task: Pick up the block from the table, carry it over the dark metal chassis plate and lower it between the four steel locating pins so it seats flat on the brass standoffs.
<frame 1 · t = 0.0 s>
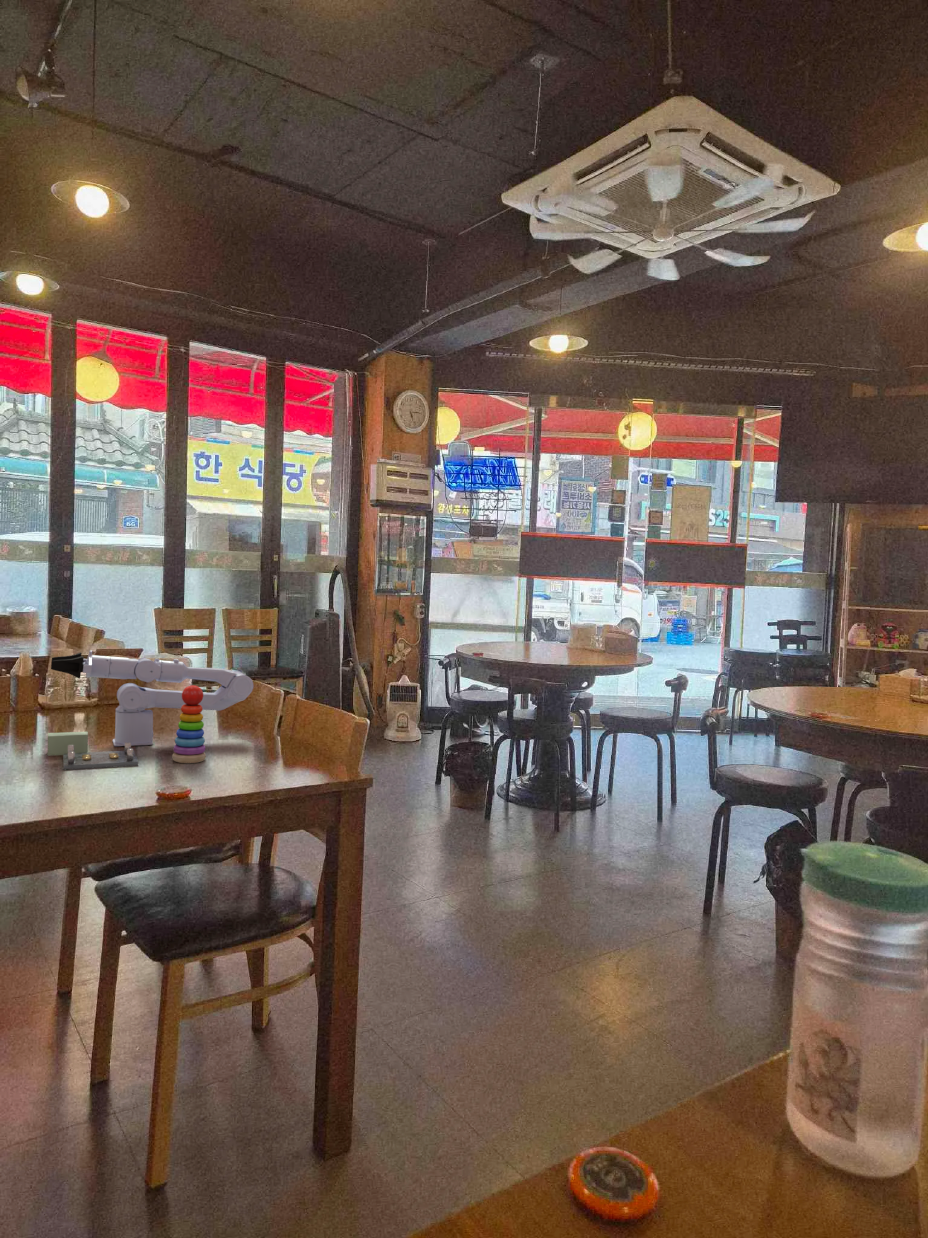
hand: (51, 663, 211), 22 cm above the table, tool horizontal, fingers open, 7 cm apart
stacking toy: (189, 761, 204), on the table
block: (67, 753, 207), on the table
chassis: (100, 761, 199), on the table
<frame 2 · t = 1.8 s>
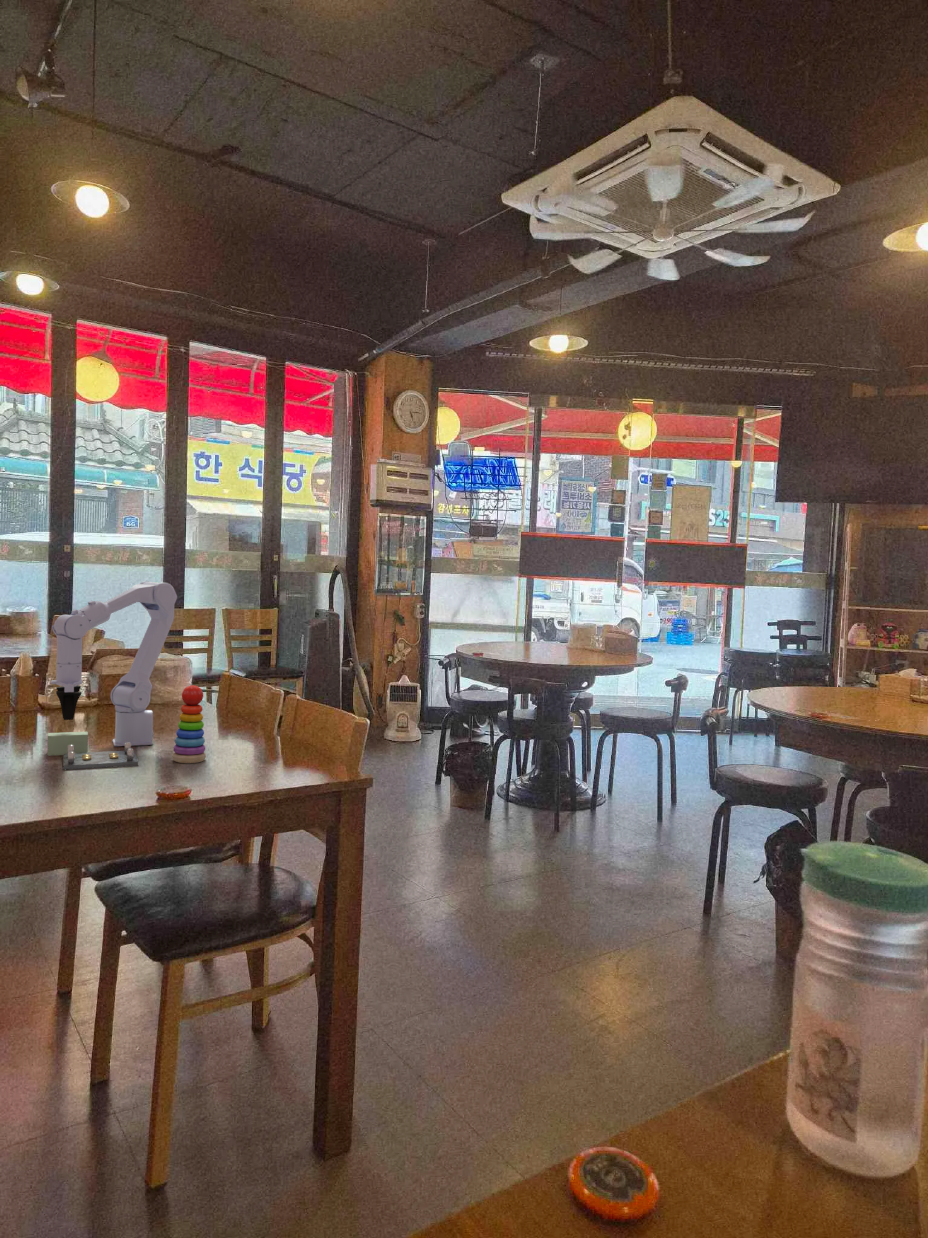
hand: (68, 717, 206), 9 cm above the table, tool pointing down, fingers open, 7 cm apart
nothing on the table moved.
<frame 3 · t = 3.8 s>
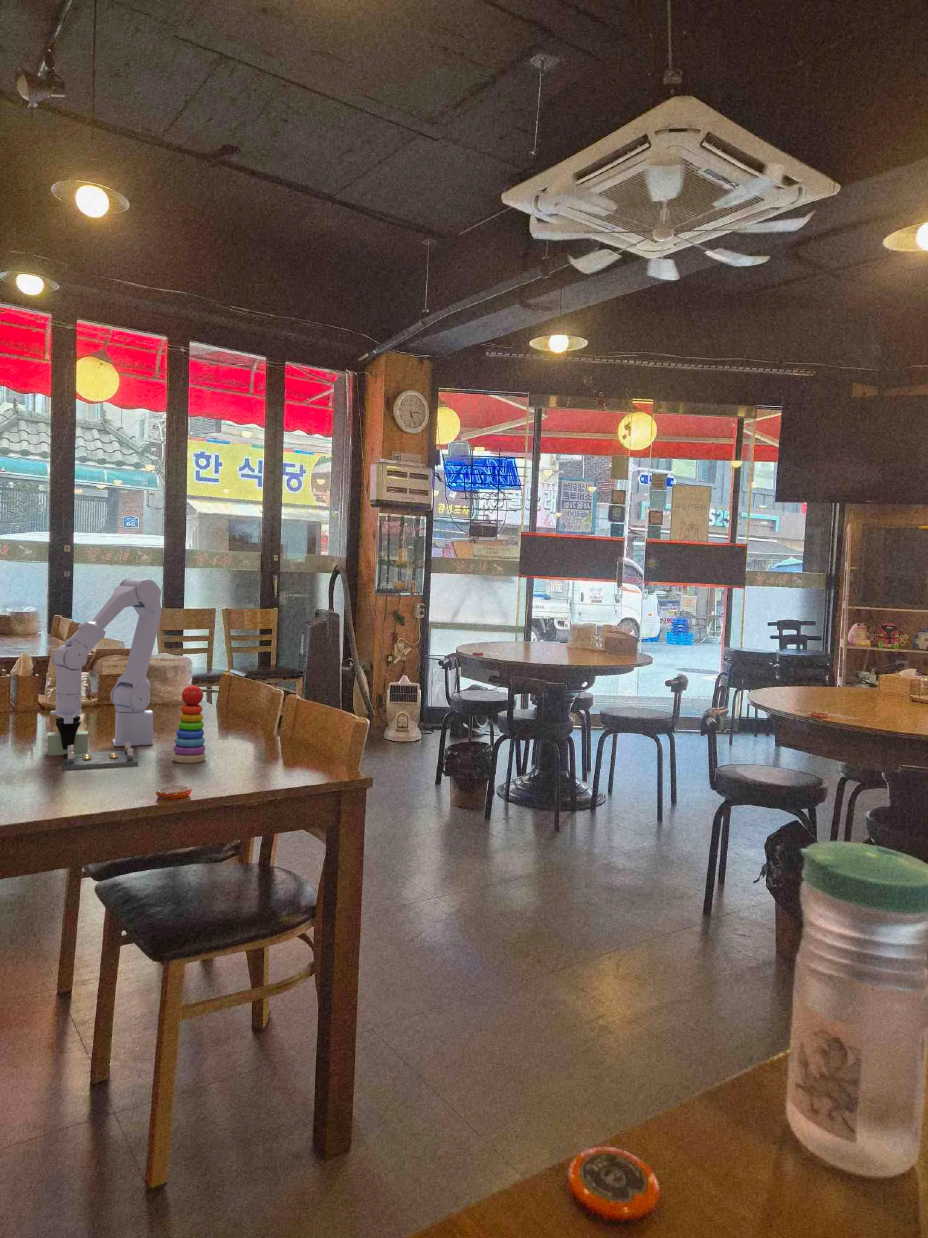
hand: (67, 747, 207), 1 cm above the table, tool pointing down, fingers closed on block, 4 cm apart
block: (67, 753, 207), on the table, touching gripper
everything else where it was.
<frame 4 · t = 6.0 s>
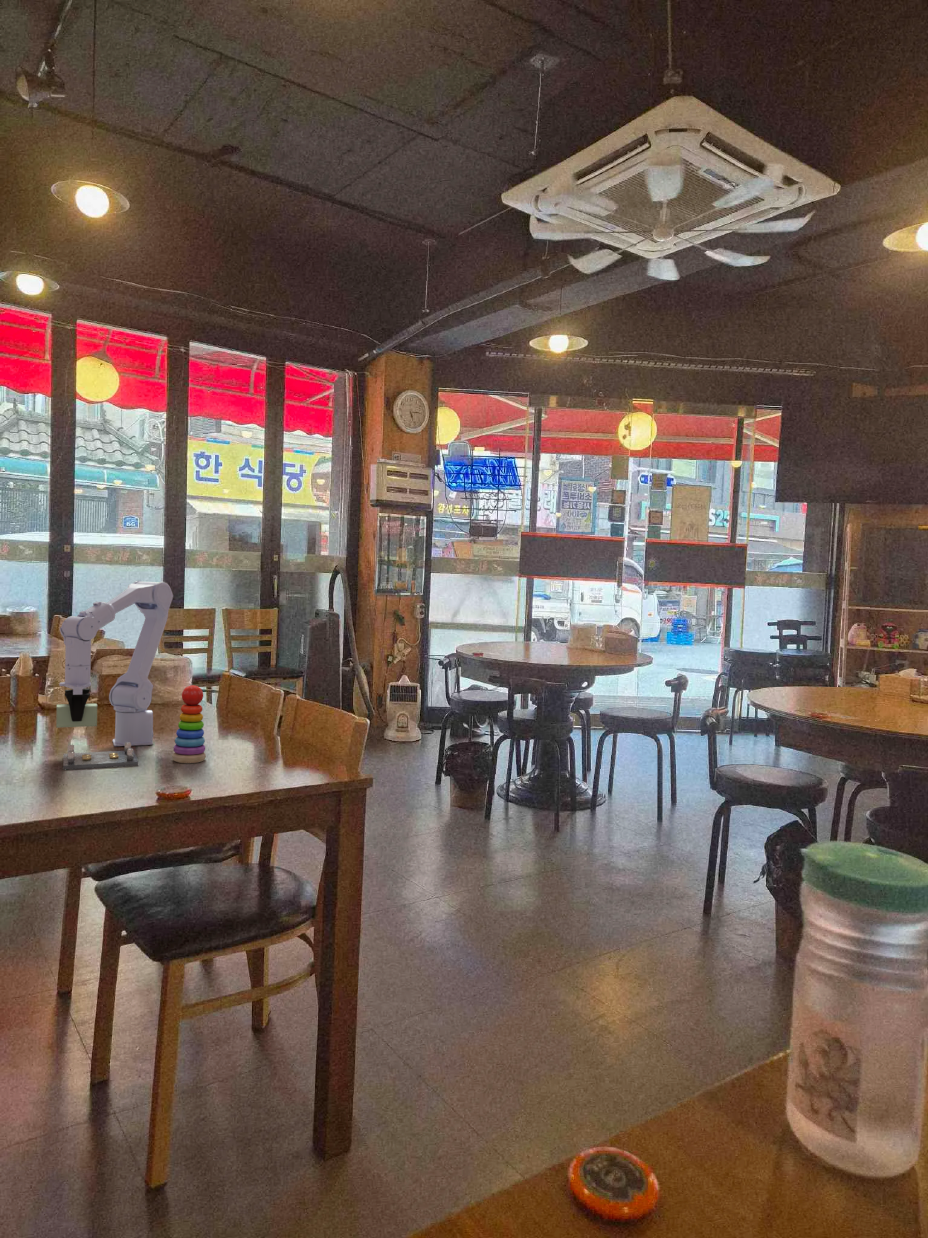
hand: (76, 719, 204), 9 cm above the table, tool pointing down, fingers closed on block, 4 cm apart
block: (76, 725, 204), point 7 cm above the table, touching gripper
everything else where it was.
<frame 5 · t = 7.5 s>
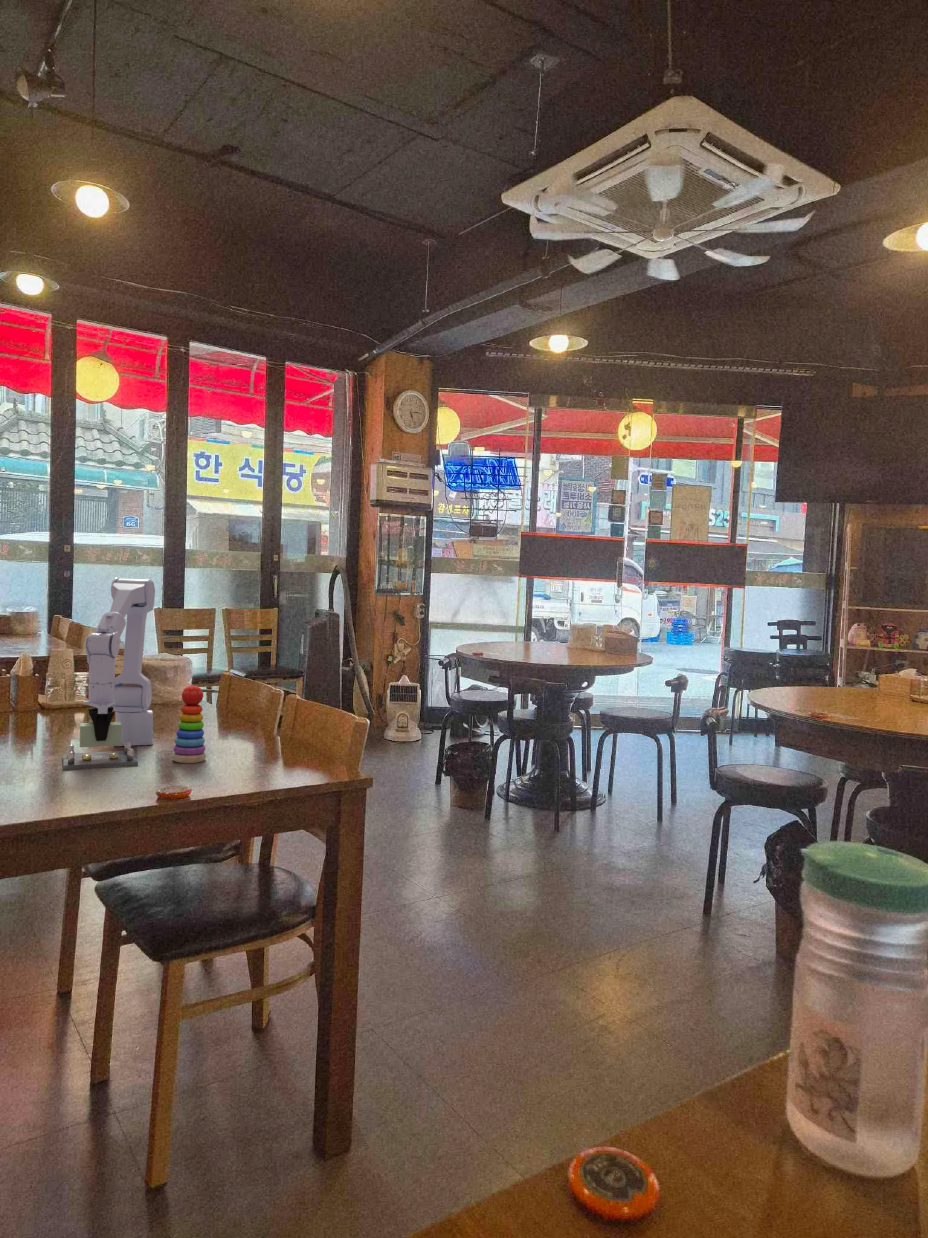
hand: (100, 738, 199), 6 cm above the table, tool pointing down, fingers closed on block, 4 cm apart
block: (100, 744, 199), point 4 cm above the table, touching gripper
everything else where it was.
when the fingers open (4 cm above the table, at t = 8.6 s): block drops 1 cm, resting on chassis.
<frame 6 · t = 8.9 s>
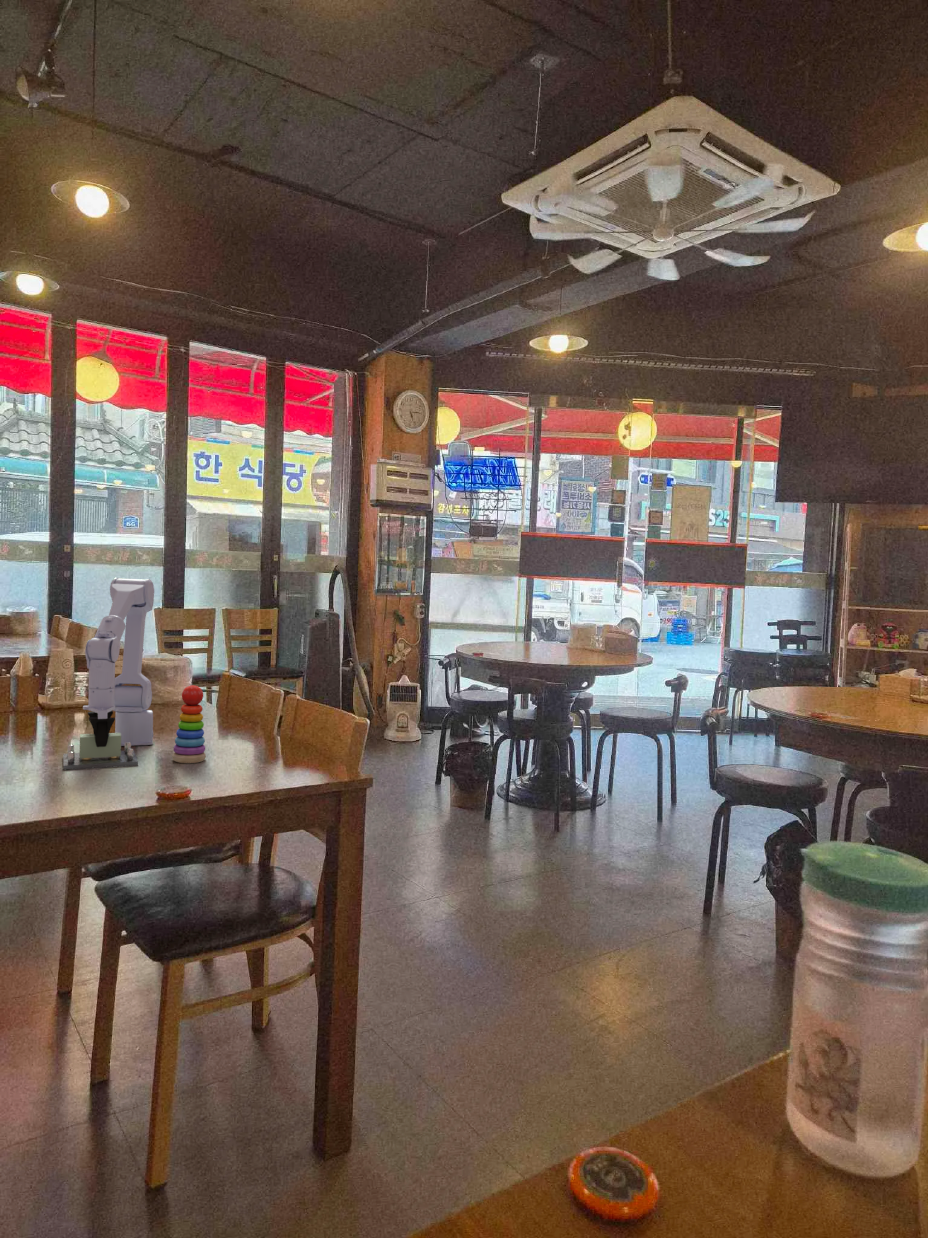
hand: (100, 743, 199), 4 cm above the table, tool pointing down, fingers open, 6 cm apart
block: (100, 755, 199), point 1 cm above the table, touching chassis
everything else where it was.
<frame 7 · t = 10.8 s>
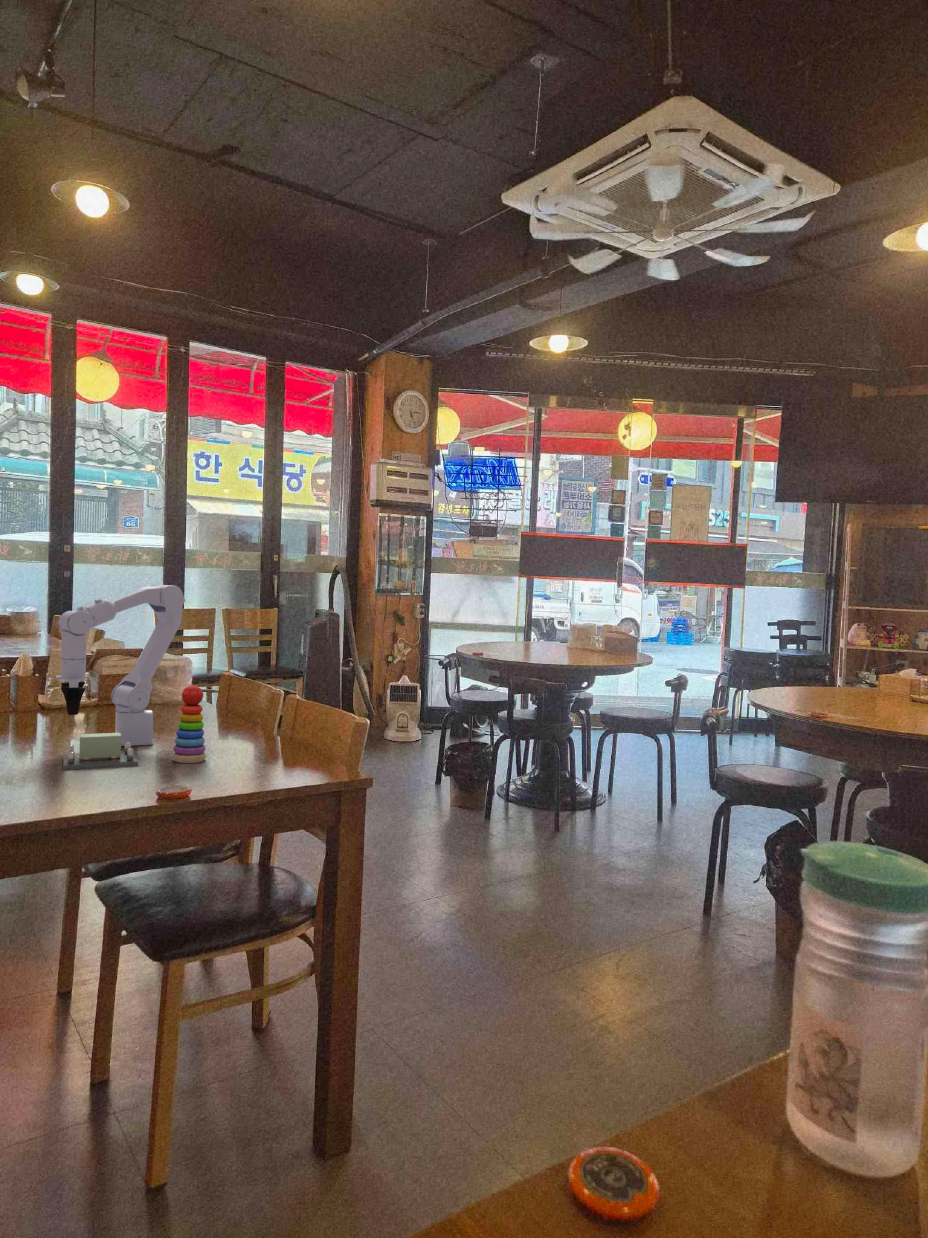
hand: (72, 712, 208), 10 cm above the table, tool pointing down, fingers open, 7 cm apart
nothing on the table moved.
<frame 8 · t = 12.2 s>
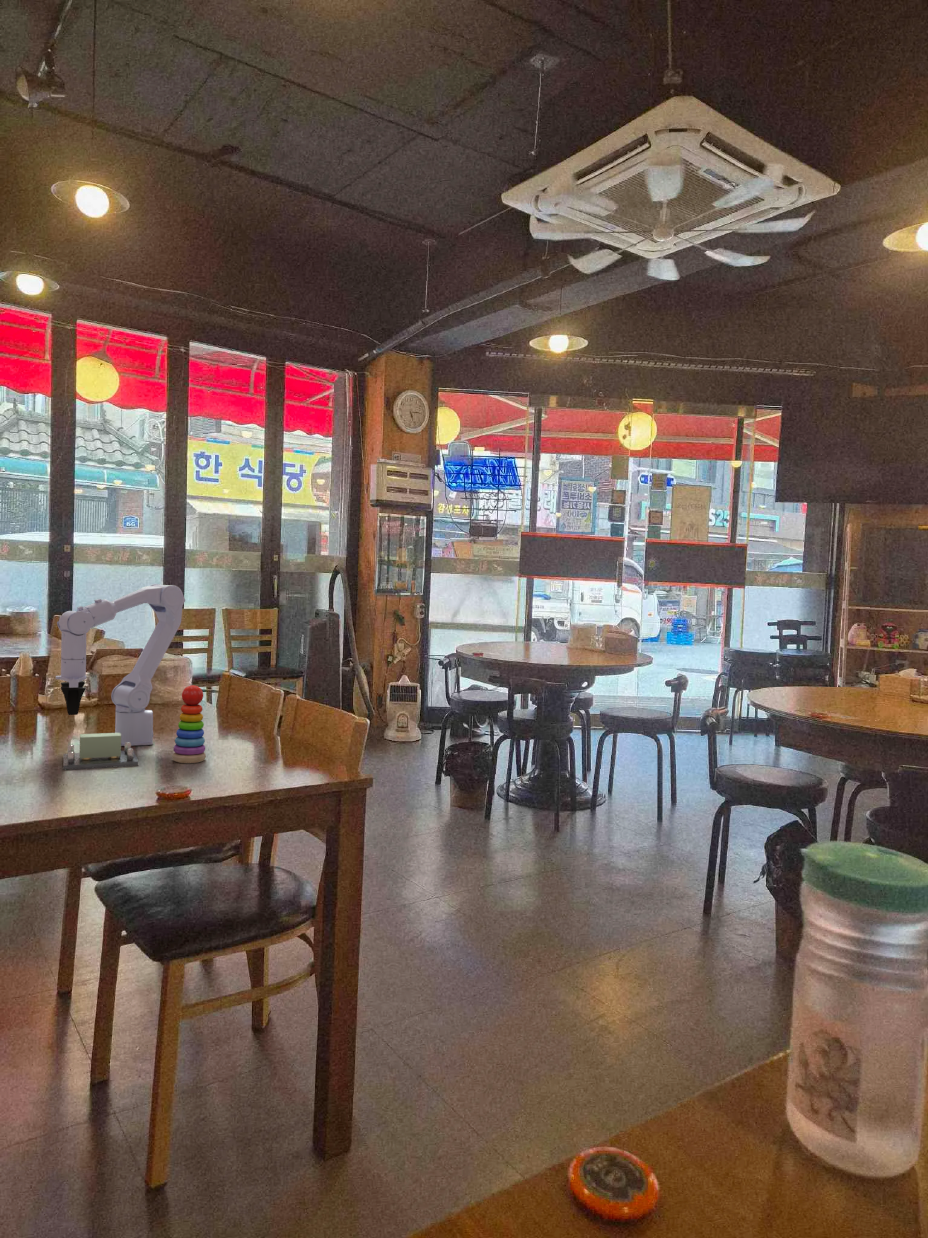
hand: (72, 712, 208), 10 cm above the table, tool pointing down, fingers open, 7 cm apart
nothing on the table moved.
at the end: block 0.1 cm off-centre on the chassis, point 1.5 cm above the chassis's base; block tilted 0°; the gripper is holding nothing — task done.
